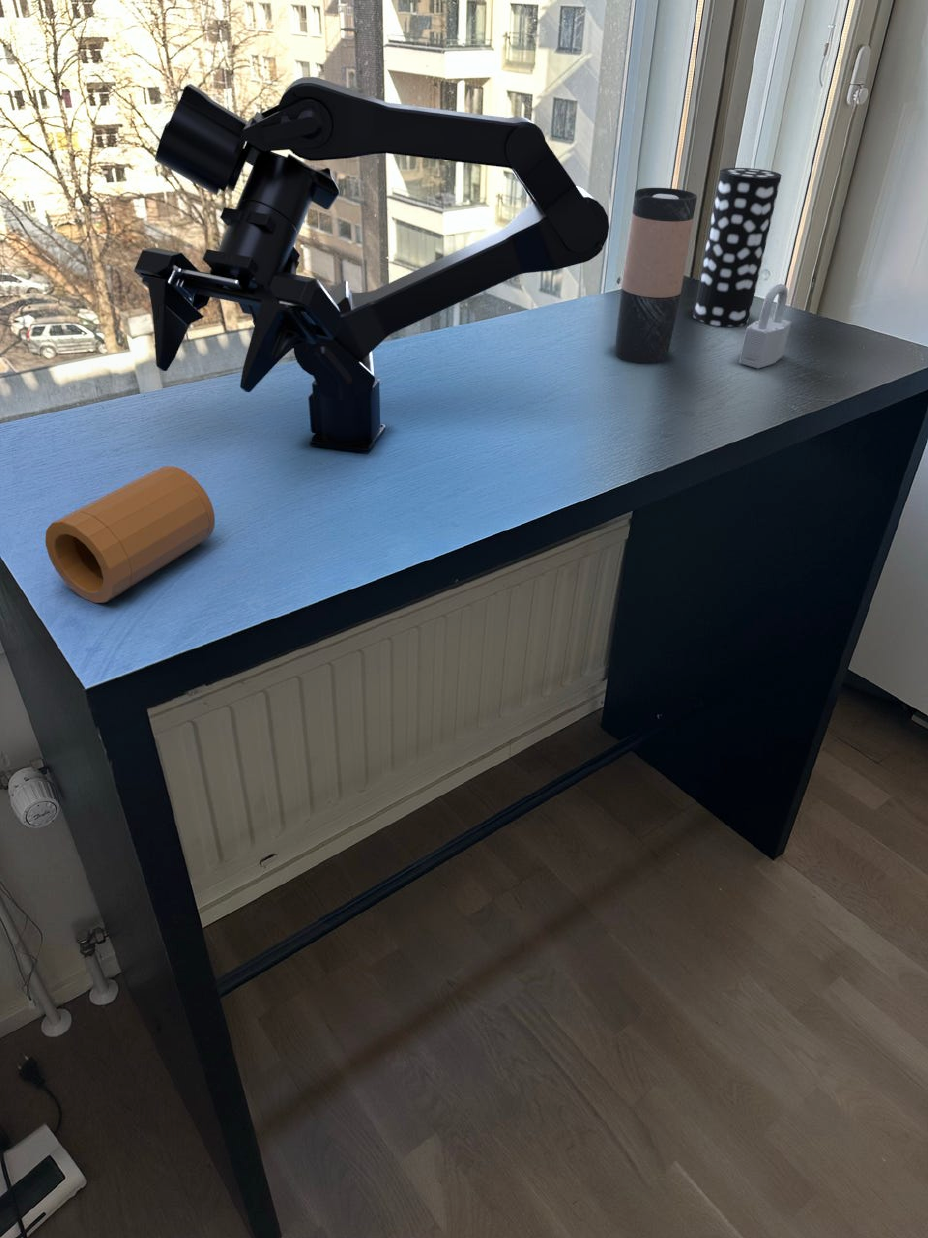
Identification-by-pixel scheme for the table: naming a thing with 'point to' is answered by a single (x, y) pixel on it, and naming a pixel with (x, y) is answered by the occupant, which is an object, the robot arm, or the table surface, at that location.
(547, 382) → the table surface
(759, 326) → the padlock
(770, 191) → the white-spotted black cylinder
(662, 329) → the travel mug
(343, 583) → the table surface
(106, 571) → the jar
